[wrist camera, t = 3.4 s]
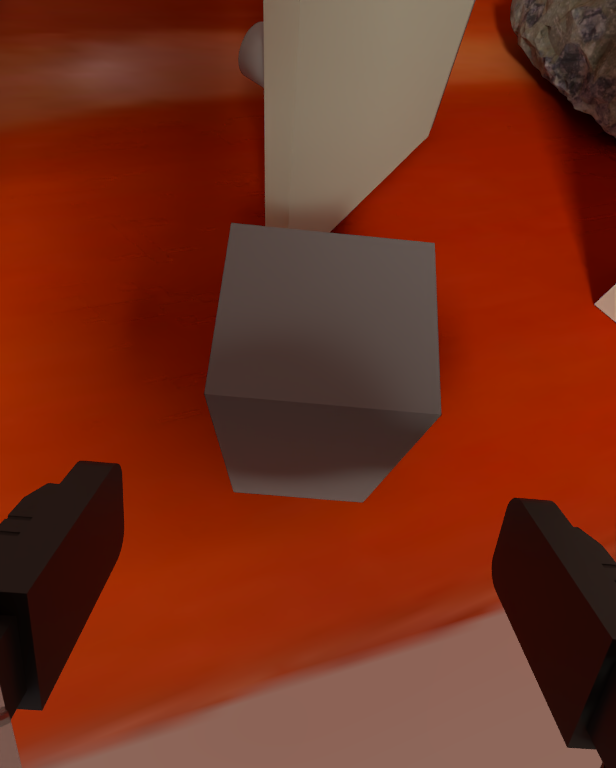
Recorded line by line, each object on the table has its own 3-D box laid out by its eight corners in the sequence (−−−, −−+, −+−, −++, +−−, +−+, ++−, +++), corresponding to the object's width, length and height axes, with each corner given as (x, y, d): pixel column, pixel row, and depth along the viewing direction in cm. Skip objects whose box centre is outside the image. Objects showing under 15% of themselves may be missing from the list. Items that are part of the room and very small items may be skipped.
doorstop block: (362, 502, 20) (441, 414, 11) (233, 491, 20) (204, 394, 11) (365, 395, 22) (434, 243, 13) (246, 384, 22) (231, 222, 13)
